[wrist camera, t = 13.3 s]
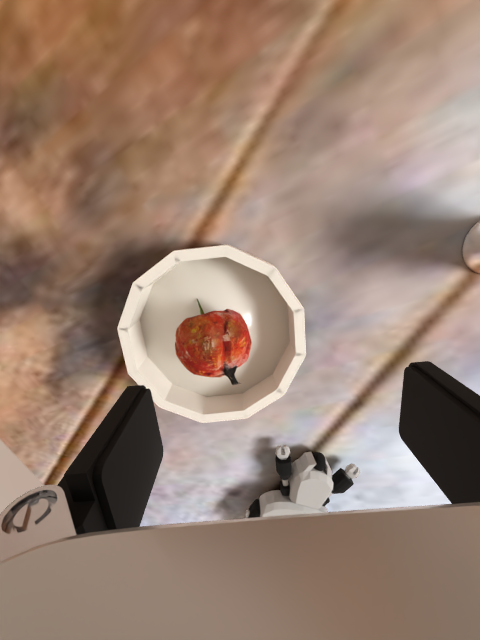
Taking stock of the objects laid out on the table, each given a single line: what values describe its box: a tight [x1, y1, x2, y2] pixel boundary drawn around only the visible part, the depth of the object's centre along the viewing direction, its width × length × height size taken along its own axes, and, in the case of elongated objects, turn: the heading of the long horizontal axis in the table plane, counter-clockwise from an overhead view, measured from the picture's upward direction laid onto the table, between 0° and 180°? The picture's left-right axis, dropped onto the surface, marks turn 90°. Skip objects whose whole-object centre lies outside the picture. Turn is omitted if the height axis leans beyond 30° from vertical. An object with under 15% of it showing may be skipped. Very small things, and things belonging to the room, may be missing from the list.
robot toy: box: [245, 445, 360, 518], centre depth 37 cm, size 12×4×15 cm
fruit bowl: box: [117, 244, 306, 423], centre depth 30 cm, size 18×18×4 cm
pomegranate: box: [175, 299, 252, 385], centre depth 28 cm, size 7×7×10 cm
